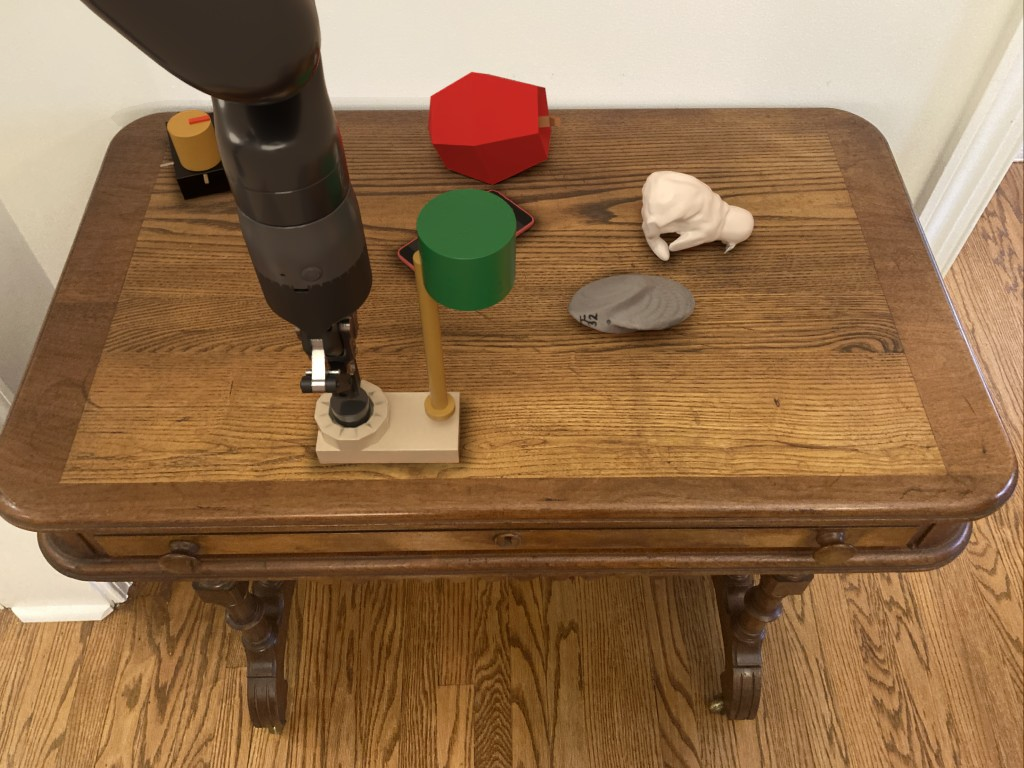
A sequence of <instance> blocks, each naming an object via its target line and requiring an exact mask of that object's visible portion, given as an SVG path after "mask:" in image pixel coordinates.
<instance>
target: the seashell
mask: <svg viewBox="0 0 1024 768" xmlns="http://www.w3.org/2000/svg"><path fill="white" fill-rule="evenodd" d="M695 308H696V300H695V296H694V295H693V293H692V292H691V291H690V289H688V288H687V287H685V285H683V284H682V283H679V281H676V280H674V279H671V278H666V277H664V276H659V275H653V274H640V273H629V274H628V273H627V274H625V273H623V274H617V275H610V276H607V277H604V278H600V279H597V280H593V281H591V282H589V283H587V284H585V285H583V286H582V287H580V288H579V289H578V290H577V291H576V292H574V294H573V296H572V297H571V299H570V301H569V303H568V305H567V312H568V314H569V315H570V316H571V317H572V318H574V319H575V320H576V321H577V322H579V323H580V324H582V326H583V325H584V326H586V327H588V328H590V329H594V330H595V331H599V332H602V333H605V334H614V335H623V334H631V333H635V332H638V331H655V330H658V331H660V330H665V329H670V328H673V327H676V326H678V325H680V324H681V323H684V321H685V320H686V319H688V318H689V317H691V315H693V314H694V310H695Z"/></svg>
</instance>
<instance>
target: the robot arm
mask: <svg viewBox="0 0 1024 768" xmlns="http://www.w3.org/2000/svg"><path fill="white" fill-rule="evenodd" d="M79 1H80V3H82V4H83V5H84V6H85V7H86V8H87V9H89V10H90V11H91V12H92V13H93V14H94V15H95V16H96V17H98V18H99V19H100V20H101V21H102V22H104V23H105V24H106V25H108V26H109V27H110V28H112V29H113V30H114V31H115V32H116V33H118V34H119V35H120V36H122V37H123V38H124V39H125V40H126V41H128V42H129V43H130V44H132V46H134V47H136V49H138V50H139V51H140V52H141V53H143V54H144V55H145V56H147V57H148V58H149V59H150V60H152V61H153V62H155V64H157V65H158V66H159V67H161V68H162V69H163V70H165V71H166V72H168V73H169V74H170V75H172V76H173V77H175V78H176V79H178V80H180V81H181V82H183V83H184V84H186V85H188V86H190V87H191V88H193V89H195V90H197V91H199V92H201V93H203V94H205V95H208V96H210V99H211V103H212V110H213V111H212V112H214V124H215V134H216V140H217V146H218V150H219V154H220V158H221V161H222V165H223V167H224V170H225V173H226V176H227V179H228V182H229V185H230V188H231V190H230V191H231V193H232V196H233V200H234V202H235V205H236V209H237V217H238V222H239V227H240V228H239V229H240V231H241V234H242V238H243V241H244V243H245V246H246V248H247V251H248V254H249V257H250V261H251V262H252V263H251V264H252V266H253V269H254V271H255V275H256V277H257V280H258V284H259V285H260V289H261V291H262V294H263V297H264V300H265V303H266V304H267V306H268V307H269V308H270V310H271V311H272V312H273V313H274V314H275V315H276V316H278V317H279V318H280V319H282V320H284V321H285V322H288V323H289V324H291V325H293V326H294V331H295V334H296V337H297V339H298V340H299V341H301V347H302V350H303V352H304V353H305V354H306V356H307V357H308V359H309V361H311V368H306V369H305V371H304V373H305V375H302V376H301V379H300V382H299V387H300V390H301V393H302V394H323V393H332V395H333V396H334V397H335V398H336V399H354V398H356V397H358V396H359V393H360V385H361V380H362V379H361V375H360V371H359V367H358V361H357V358H356V357H357V354H358V353H359V352H358V351H359V350H358V349H359V348H358V346H357V342H356V340H357V339H358V333H359V329H360V324H359V318H358V312H357V311H358V310H359V309H360V308H361V307H362V306H363V305H364V303H365V302H366V301H367V299H368V297H369V296H370V294H371V291H372V287H373V281H374V280H373V271H372V266H371V261H370V260H371V259H370V256H369V250H368V246H367V239H366V234H365V230H364V229H365V228H364V223H363V219H362V213H361V209H360V205H359V200H358V198H357V195H356V192H355V190H354V188H353V185H352V182H351V178H350V173H349V168H348V167H349V166H348V162H347V158H346V152H345V147H344V143H343V139H342V138H343V137H342V134H341V130H340V127H339V126H340V125H339V123H338V120H337V117H336V114H335V111H334V108H333V105H332V101H331V98H330V95H329V91H328V87H327V84H326V83H327V82H326V78H325V73H324V65H323V64H324V63H323V58H322V57H323V56H322V51H321V50H322V31H321V25H320V18H319V13H318V9H317V5H316V0H79Z"/></svg>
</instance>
